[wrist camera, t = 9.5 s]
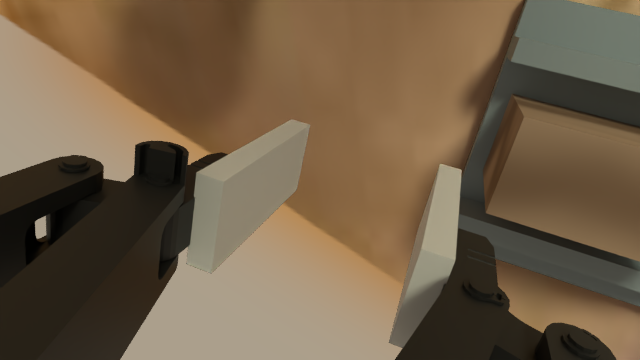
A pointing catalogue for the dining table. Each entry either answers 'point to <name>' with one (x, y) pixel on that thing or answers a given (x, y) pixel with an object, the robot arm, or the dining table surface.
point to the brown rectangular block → (567, 175)
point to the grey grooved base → (571, 92)
